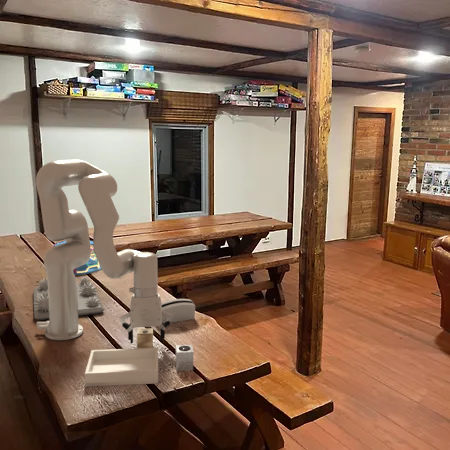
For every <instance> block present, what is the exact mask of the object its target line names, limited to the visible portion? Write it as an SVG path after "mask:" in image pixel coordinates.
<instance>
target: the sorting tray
mask: <svg viewBox="0 0 450 450" xmlns="http://www.w3.org/2000/svg"><path fill="white" fill-rule="evenodd" d="M158 348H159V347H153V348H138V349H137V348H118V349H117V348H115V349H114V348H113V349H111V348H110V349H90V350H91V351H90V354H89V358H88V360H87V365H86V368H85V372H84V388H87V387H88V388H89V387H105V386H108V387H109V386H126V385H127V386H128V385H130V386H131V385H148V384H159V349H158Z"/></svg>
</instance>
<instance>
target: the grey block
mask: <svg viewBox="0 0 450 450" xmlns="http://www.w3.org/2000/svg"><path fill="white" fill-rule="evenodd" d="M175 370H176V372H182V371H187V372H188V371H194V347H193V344H175Z"/></svg>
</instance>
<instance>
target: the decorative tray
mask: <svg viewBox="0 0 450 450" xmlns="http://www.w3.org/2000/svg"><path fill="white" fill-rule="evenodd" d="M81 277H82V278H81ZM81 277H80V279H79V281H78V282H77V286H78V317H80V316H87V315H88V316H89V315H95V314H96V315H97V314H102V313H103V312H104V311H105V308H104V306H103V304H102V301H101V299H100V297H99V295H98V292H99V291H98V290H97V287H96V285H94V283H92V282H91V279H90V278H89V277H87V276H85V275H84V276H81ZM41 279H42V280H40V279H38V282H36V283H37V284H35V286H36V287H35V288H34V289H33V290H32V292H33V293H32V295H33V303H32V306H33V311H34V313H33V314H34V319H36V321H44V320H46V321H47V320H49V297H48V280H47V277H44V278H41Z"/></svg>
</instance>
